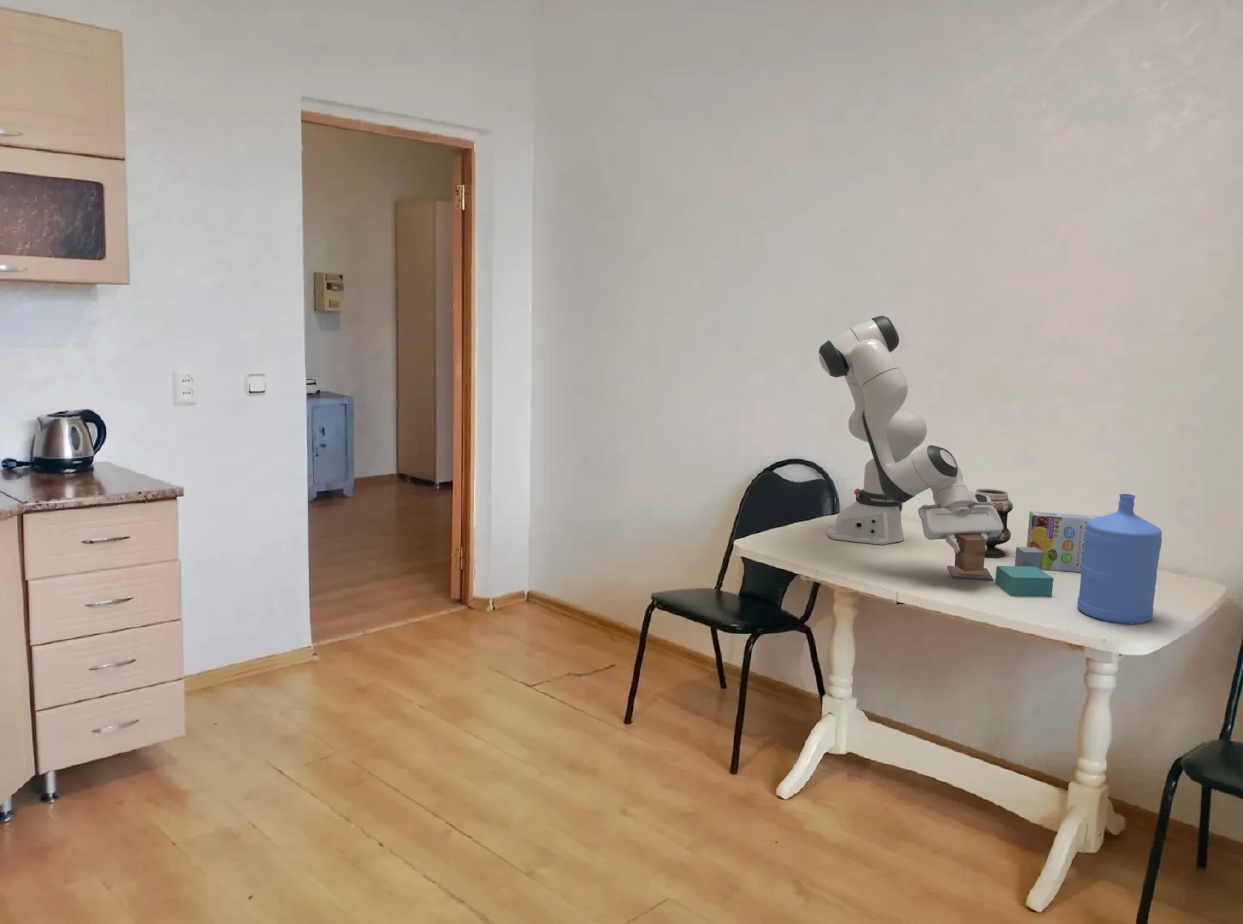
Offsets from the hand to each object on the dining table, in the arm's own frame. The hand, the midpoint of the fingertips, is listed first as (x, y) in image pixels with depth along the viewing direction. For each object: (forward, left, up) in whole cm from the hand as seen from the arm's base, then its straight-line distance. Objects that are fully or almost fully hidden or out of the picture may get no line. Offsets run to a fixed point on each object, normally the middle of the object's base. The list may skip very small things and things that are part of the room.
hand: (971, 551), depth 238 cm
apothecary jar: (+10, +37, -10) cm, 40 cm away
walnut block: (0, +1, -4) cm, 4 cm away
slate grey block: (+16, +12, -10) cm, 22 cm away
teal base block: (+13, +2, -10) cm, 17 cm away
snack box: (+29, +25, -10) cm, 40 cm away
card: (+2, +13, -9) cm, 16 cm away
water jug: (+30, -12, -10) cm, 34 cm away
